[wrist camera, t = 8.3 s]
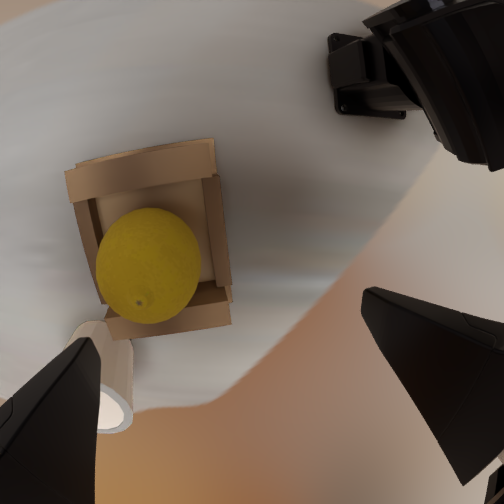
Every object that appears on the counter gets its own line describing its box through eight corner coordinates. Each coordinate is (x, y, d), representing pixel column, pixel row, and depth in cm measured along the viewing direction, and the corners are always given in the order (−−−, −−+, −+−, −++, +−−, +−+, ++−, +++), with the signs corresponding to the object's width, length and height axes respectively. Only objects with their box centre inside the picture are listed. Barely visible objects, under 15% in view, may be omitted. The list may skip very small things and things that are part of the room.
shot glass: (92, 379, 22) (79, 437, 16) (53, 324, 20) (24, 380, 13) (153, 366, 23) (150, 430, 17) (117, 304, 20) (97, 366, 14)
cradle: (212, 138, 17) (217, 136, 14) (230, 295, 22) (239, 325, 18) (80, 162, 16) (56, 169, 12) (118, 312, 20) (108, 344, 17)
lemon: (99, 232, 17) (52, 292, 10) (162, 177, 17) (144, 206, 10) (152, 290, 19) (141, 371, 12) (214, 243, 19) (234, 310, 12)
